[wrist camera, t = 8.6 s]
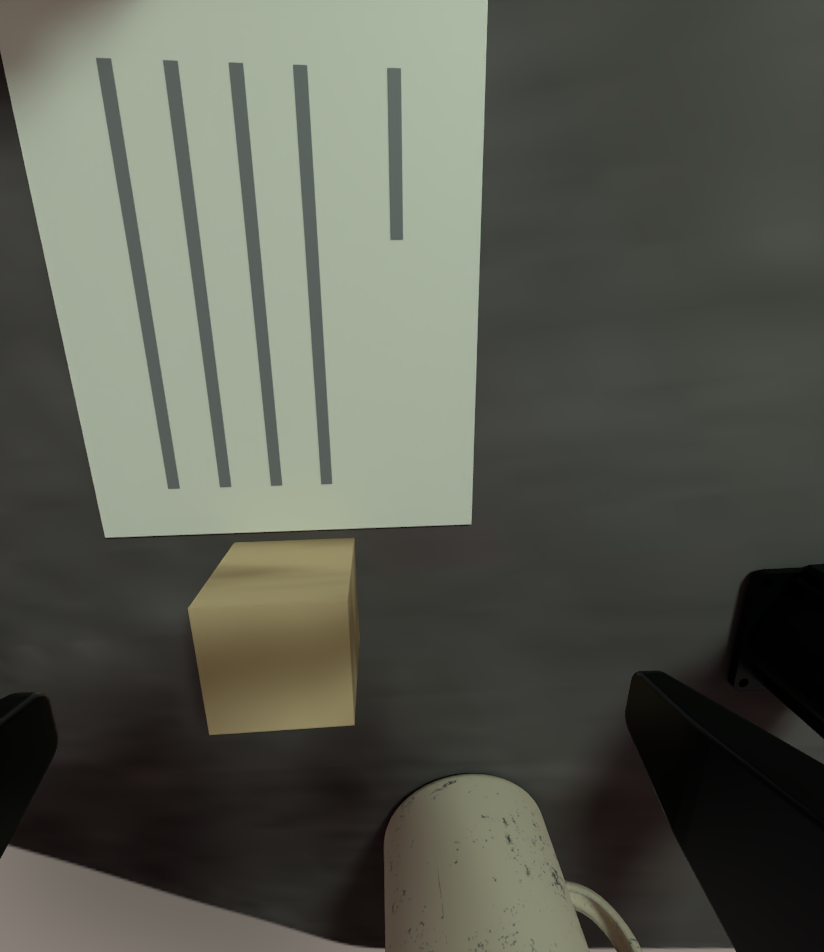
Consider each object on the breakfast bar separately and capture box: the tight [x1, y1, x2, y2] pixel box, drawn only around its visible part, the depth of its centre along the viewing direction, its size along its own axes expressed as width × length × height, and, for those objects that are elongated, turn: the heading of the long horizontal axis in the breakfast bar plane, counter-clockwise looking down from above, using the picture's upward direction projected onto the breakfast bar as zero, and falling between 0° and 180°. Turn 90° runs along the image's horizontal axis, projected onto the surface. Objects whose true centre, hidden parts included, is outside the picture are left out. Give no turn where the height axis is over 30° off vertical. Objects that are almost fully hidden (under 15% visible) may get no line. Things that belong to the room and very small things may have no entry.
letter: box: [0, 0, 488, 538], centre depth 16 cm, size 19×15×1 cm
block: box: [188, 538, 359, 735], centre depth 18 cm, size 5×5×5 cm
